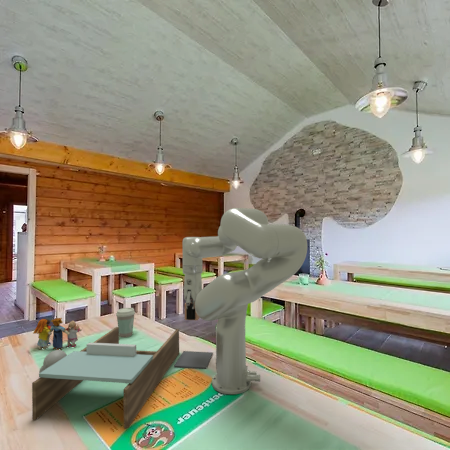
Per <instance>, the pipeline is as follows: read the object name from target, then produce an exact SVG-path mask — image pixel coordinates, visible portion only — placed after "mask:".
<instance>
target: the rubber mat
mask: <svg viewBox="0 0 450 450" xmlns="http://www.w3.org/2000/svg"><path fill="white" fill-rule="evenodd" d="M212 357H213V352H211V351H193V350H192V351H190V350H189V351H188V350H183V351H182V353H181V354H180V356H179V357H178V359H177V360H176V362H175V364H173V368H177V369H178V368H181V369H197V370H198V369H199V370H207V368H208V366H209V363H210V362H211V359H212Z"/></svg>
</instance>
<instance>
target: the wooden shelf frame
mask: <svg viewBox="0 0 450 450" xmlns="http://www.w3.org/2000/svg"><path fill="white" fill-rule="evenodd" d="M92 343H111V344H120V336H119V327H118V326H116V327H114V328H112V329H111V330H110V331H107V333H105V334H104V335H102V336H101V337H99V338H97V339H96V340H95V341H92ZM80 351H82V352H87V347H84V348H83V349H80ZM136 354H141V355H153V359H152V360H151V361H150V363H149V364H148V365H147V366H146V367H145V368H144V370H143V371H142V372H141V373H140V374H139V375H138V377H137V378H136V379H135V380H134V381H133V382H132V383H131V384H130V383H127V385H126V386H125V387H124V388H123V389H122V390H123V428H124V429H127V428H128V429H129V428H130V426H131V424H132V423H133V422H134V420H135V419H136V417H137V416H138V414H139V413H140V412H141V410H142V408H143V407H144V406H145V404H146V402H147V401H149V398H150V396H151V395H152V394H153V392H154V391H155V390H156V388H157V387H158V386H159V384H160V382H161V381H162V379H163V378H164V377H165V375H166V374H167V372H169V371H168V370H169V369H170V368H171V367H172V365H173V363H174V362H175V361H176V359H177V357H178V356H179V354H180V329H179V328H176V329H175V330H174V331H173V333H172V334H171V335H170V336H169V337H168V338H167V339H166V341H165V342H164V343H163V344H162V345H161V346H160V347H159V349H158V350H156V351H155V350H153V351H152V350H137V349H136ZM83 381H84V380H72V379H57V378H42V377H38V379H36V380H34V381H33V382H32V383H31V393H32V395H31V399H32V400H31V401H32V403H31V404H32V405H31V409H32V413H31V414H32V419H31V420H34V421H37V420H38V419H39V418H40V417H41V416H42V415H43V414H45V413H46V412H47V411H48V410H50V409H51V408H52V407H53V406H54V405H56V404H57V403H58V402H60V401H61V400H62V399H63V398H64V397H65V396H66V395H68V394H69V393H70V392H71V391H72V390H73V389H75V388H76V387H78V385H79V384H81V383H82V382H83Z"/></svg>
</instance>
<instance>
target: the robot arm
mask: <svg viewBox="0 0 450 450" xmlns="http://www.w3.org/2000/svg"><path fill="white" fill-rule="evenodd" d="M307 239H308V238H307V236H306V234H305V232H304V231H303V230H302V229H300V228H299V227H297V226H295V225H291V224H282V223H281V224H280V223H279V224H275V223H274V224H273V223H272V224H269V219H268V217H267V214H265V212H263V211H262V210H259V209H258V208H257V209H256V208H242V207H241V208H240V207H233V208H230V209H228V210H227V211H225V212H224V213H223V214H222V216H221V219H220V226H219V227H218V230H217V236H201V237H200V236H186V237H184V238H183V239H182V274H183V275H184V282H183V283H184V284H183V299H184V301H185V303H186V314H187V319H188V320H187V321H196V320H195V310H196V313H197V315H198V316H199V317H200V318H199V319H201V320H203V321H206V322H213V321H217V322H216V327H215V351H216V352H215V354H216V355H215V356H216V357H215V361H216V363H215V364H216V367H215V368H216V373H215V374H214V376H213V377H212V379H211V386H212V388H213V389H214V390H215V391H216V392H219V393H221V394H223V395H238V394H242V393H244V392H246V391H248V390H249V389H250V388H251V386H252V382H257V383H258V382H261V374H258V372H257V371H255V370H254V371H253V370H252V371H251V370H249V369H248V365H247V361H246V360H247V358H246V352H247V351H246V347H247V346H246V319H247V311H248V305H249V304H251V303H254V302H256V301H258V300H259V299H260V298H262V297H264V296H265V295H266V294H268V293H269V292H271V291H273V290H274V289H275V288H277V287H279V286H280V285H281V284H283V283H284V282H287V280H289V279H290V278H292V277H293V276H294V275H295V274H296V273H297V272H298V271H299V270H300V268H301V267H302V266H303V265H304V262H305V260H306V258H307V254H308V241H307ZM237 247H238V248H240V249H242V250H243V251H244V252H246V253H248V254H249V255H250V256H252V257H254V258H258V259H260V260H259V261H257V262H256V263H254V264H253V265H252V266H251V267H249V268H247V269H244V270H239V271H231V272H227V273H223V274H221V275H218V276H217V277H215V278H214V279H212V281H211V282H209V283H208V284H206V286H204V287H203V282H202V280H203V277H202V274H203V259H207V258H215V257H217V258H218V257H223V256H225V255H228V254H229V253H232V252H233V251H235V250H236V249H237ZM191 302H192V303H191ZM194 304H195V309H194Z"/></svg>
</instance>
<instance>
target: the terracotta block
mask: <svg viewBox="0 0 450 450" xmlns="http://www.w3.org/2000/svg"><path fill="white" fill-rule="evenodd" d="M191 303H192V302H191ZM194 309H195V304H194ZM199 319H201V318H200V317H199V316H198V315H197V313H196V310H195V320H194V321H199ZM184 320H185V321H189V320H188V319H187V314H186V302H185V303H184Z"/></svg>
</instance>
